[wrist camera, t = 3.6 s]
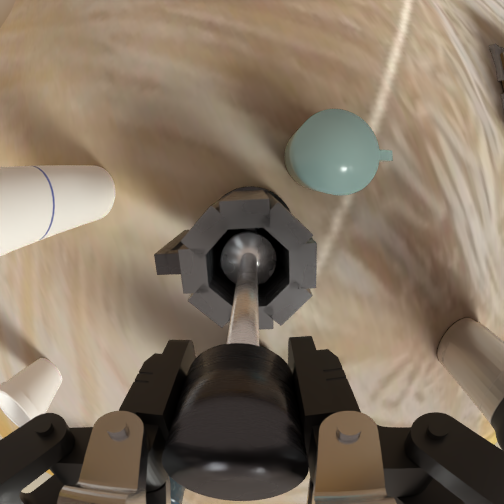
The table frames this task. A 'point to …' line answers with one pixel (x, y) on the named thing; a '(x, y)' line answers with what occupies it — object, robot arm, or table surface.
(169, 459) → the plunger
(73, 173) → the cylindrical container
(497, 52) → the decorative book
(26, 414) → the foam cup
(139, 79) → the table surface
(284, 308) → the faceted grey mug
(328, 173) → the teal mug
